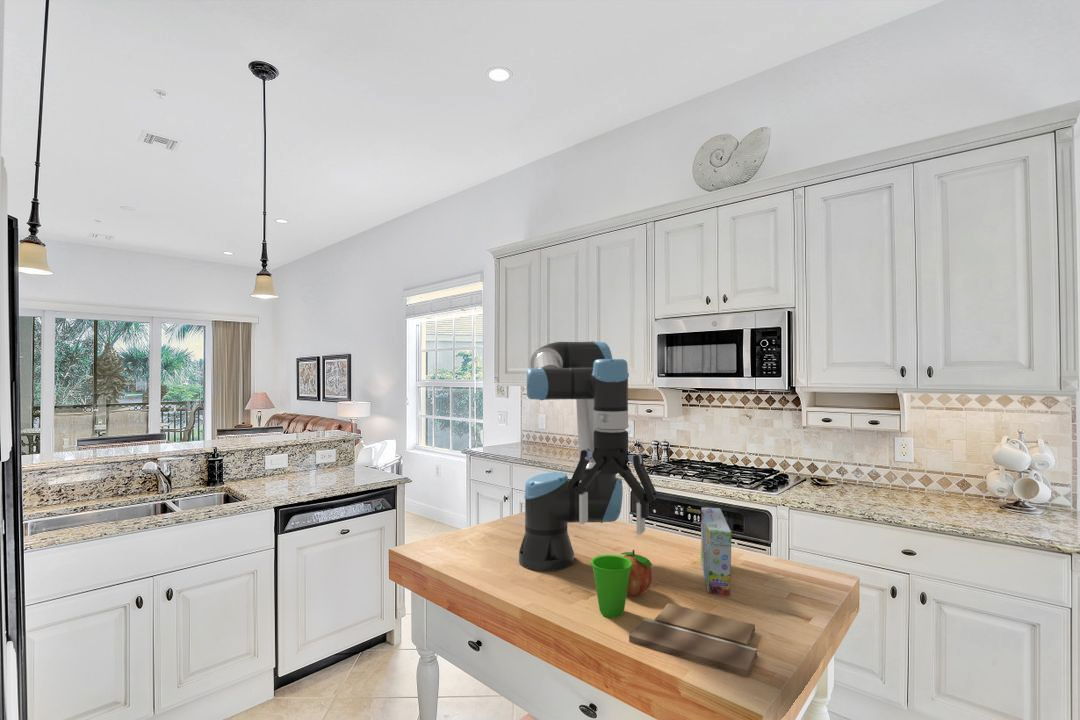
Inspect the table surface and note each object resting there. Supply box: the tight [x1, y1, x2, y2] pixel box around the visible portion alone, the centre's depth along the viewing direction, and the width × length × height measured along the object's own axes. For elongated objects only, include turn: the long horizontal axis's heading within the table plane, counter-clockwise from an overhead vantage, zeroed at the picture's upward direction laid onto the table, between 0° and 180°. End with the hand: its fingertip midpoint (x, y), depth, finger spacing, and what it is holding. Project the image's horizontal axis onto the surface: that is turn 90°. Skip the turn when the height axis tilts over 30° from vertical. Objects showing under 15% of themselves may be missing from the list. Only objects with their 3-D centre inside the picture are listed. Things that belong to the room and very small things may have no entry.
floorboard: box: [628, 618, 758, 678], centre depth 102 cm, size 22×8×1 cm, turn 57°
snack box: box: [700, 507, 732, 596], centre depth 135 cm, size 21×6×15 cm, turn 168°
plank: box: [654, 602, 756, 647], centre depth 109 cm, size 18×8×1 cm, turn 57°
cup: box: [590, 554, 633, 619], centre depth 116 cm, size 9×9×11 cm
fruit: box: [620, 549, 653, 596], centre depth 126 cm, size 9×10×10 cm
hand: (611, 527), depth 116 cm, fingers open, 13 cm apart
